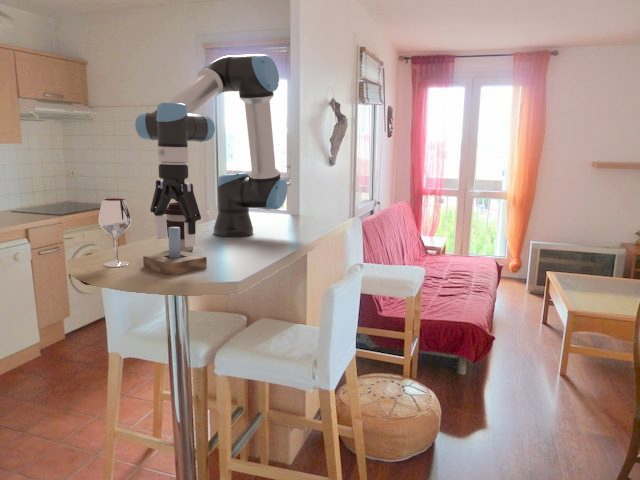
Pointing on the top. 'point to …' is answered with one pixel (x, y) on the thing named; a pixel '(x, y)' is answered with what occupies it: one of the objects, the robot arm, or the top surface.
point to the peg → (174, 242)
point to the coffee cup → (177, 223)
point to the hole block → (175, 262)
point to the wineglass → (114, 223)
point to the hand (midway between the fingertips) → (175, 242)
